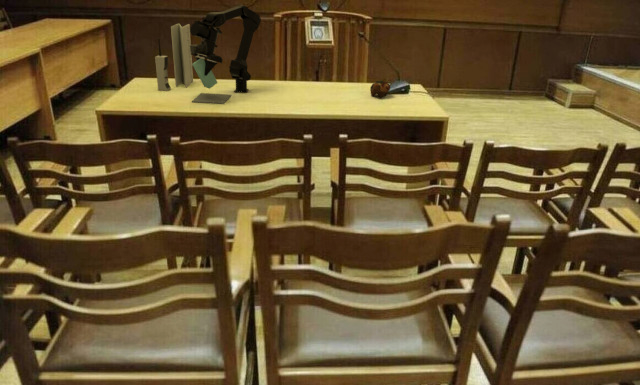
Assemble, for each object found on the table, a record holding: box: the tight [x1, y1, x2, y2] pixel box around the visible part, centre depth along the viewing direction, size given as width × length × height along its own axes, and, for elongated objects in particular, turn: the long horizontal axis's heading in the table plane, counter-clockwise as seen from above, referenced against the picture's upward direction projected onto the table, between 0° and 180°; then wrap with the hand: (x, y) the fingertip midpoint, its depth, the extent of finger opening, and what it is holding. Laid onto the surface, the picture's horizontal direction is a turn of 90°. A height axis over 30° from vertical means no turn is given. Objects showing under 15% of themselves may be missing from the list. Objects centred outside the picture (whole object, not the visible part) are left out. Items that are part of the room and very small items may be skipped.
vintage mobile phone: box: [154, 38, 172, 92], centre depth 247 cm, size 4×5×25 cm
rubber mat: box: [191, 92, 232, 105], centre depth 240 cm, size 16×15×1 cm
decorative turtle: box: [369, 80, 391, 99], centre depth 257 cm, size 10×15×8 cm, turn 155°
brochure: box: [170, 23, 194, 89], centre depth 259 cm, size 14×6×30 cm, turn 179°
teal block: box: [192, 58, 219, 89], centre depth 234 cm, size 5×5×12 cm
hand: (202, 74), depth 234 cm, fingers closed on teal block, 5 cm apart
